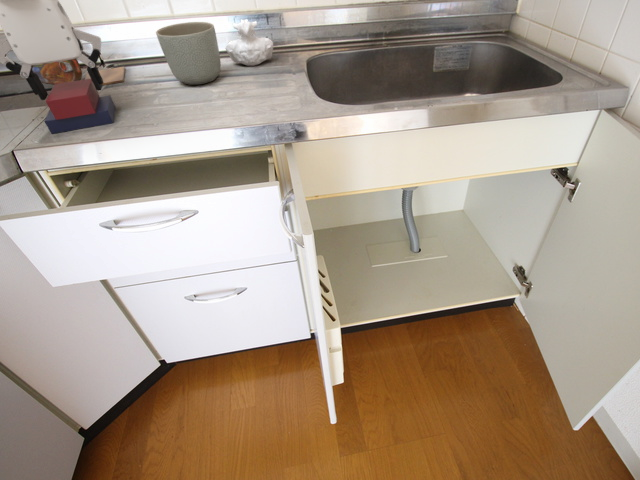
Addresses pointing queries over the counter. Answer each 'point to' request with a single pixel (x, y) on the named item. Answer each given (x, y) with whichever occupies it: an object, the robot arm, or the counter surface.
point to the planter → (191, 51)
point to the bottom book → (84, 118)
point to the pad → (111, 75)
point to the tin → (58, 71)
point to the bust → (249, 45)
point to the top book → (73, 99)
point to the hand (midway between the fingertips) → (72, 92)
